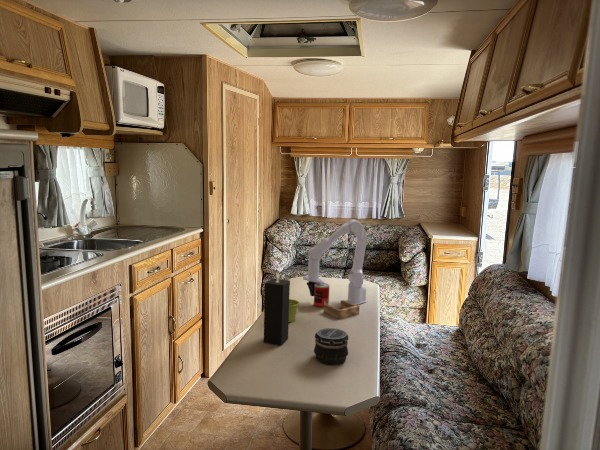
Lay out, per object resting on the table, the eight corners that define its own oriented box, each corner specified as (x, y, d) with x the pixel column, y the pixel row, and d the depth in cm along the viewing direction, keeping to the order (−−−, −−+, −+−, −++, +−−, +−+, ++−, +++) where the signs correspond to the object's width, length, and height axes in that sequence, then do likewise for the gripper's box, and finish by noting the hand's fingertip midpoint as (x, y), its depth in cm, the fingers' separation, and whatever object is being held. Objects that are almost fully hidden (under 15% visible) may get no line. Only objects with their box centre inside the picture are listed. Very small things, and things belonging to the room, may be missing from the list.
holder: (342, 307, 222) (342, 300, 222) (359, 314, 213) (359, 306, 213) (323, 312, 214) (323, 304, 213) (340, 319, 205) (340, 311, 205)
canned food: (328, 303, 229) (329, 283, 227) (328, 308, 221) (329, 287, 219) (314, 302, 229) (315, 282, 228) (313, 307, 221) (314, 286, 220)
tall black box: (288, 338, 180) (290, 272, 176) (281, 346, 172) (283, 277, 169) (270, 336, 182) (272, 270, 178) (263, 342, 175) (264, 274, 171)
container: (313, 350, 169) (314, 326, 168) (346, 352, 169) (347, 327, 167) (313, 365, 156) (314, 339, 155) (349, 367, 156) (350, 340, 155)
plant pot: (303, 320, 202) (303, 302, 201) (288, 325, 195) (289, 306, 194) (288, 315, 208) (289, 297, 207) (274, 320, 201) (274, 301, 200)
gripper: (299, 268, 231) (298, 293, 233) (317, 274, 220) (316, 300, 222) (309, 267, 235) (308, 291, 237) (327, 272, 224) (326, 298, 226)
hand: (312, 295), depth 230 cm, fingers closed
